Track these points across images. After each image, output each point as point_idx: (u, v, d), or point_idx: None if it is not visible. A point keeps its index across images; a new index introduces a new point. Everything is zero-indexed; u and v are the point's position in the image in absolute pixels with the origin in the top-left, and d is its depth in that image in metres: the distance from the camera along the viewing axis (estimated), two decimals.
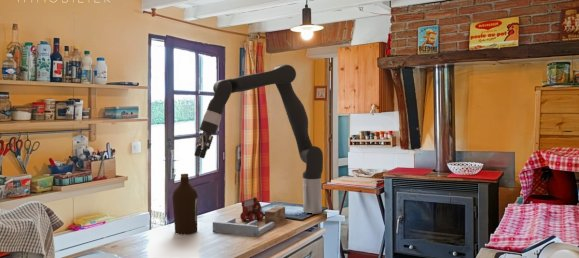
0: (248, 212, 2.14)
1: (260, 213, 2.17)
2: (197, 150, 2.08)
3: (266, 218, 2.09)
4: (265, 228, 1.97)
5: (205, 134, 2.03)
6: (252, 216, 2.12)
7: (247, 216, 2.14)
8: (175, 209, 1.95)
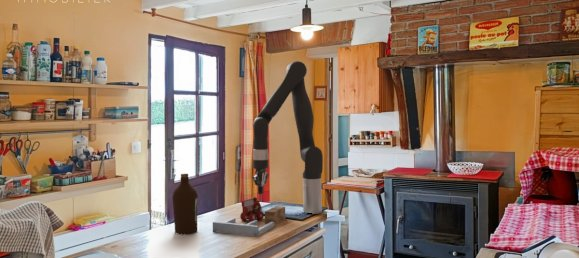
0: (248, 212, 2.14)
1: (260, 213, 2.17)
2: None
3: (266, 217, 2.09)
4: (265, 228, 1.97)
5: None
6: (252, 216, 2.12)
7: (247, 216, 2.14)
8: (175, 209, 1.95)
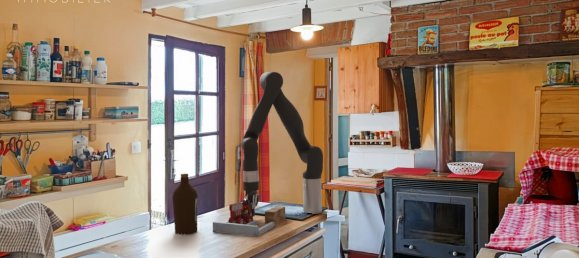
0: (236, 216, 2.05)
1: (249, 218, 2.08)
2: None
3: (266, 217, 2.09)
4: (265, 228, 1.97)
5: None
6: (240, 221, 2.04)
7: (235, 221, 2.05)
8: (175, 209, 1.95)
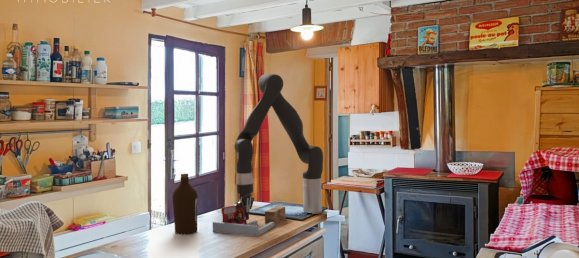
0: (229, 220, 2.00)
1: (242, 221, 2.02)
2: None
3: (266, 217, 2.09)
4: (265, 228, 1.97)
5: None
6: None
7: None
8: (175, 209, 1.95)
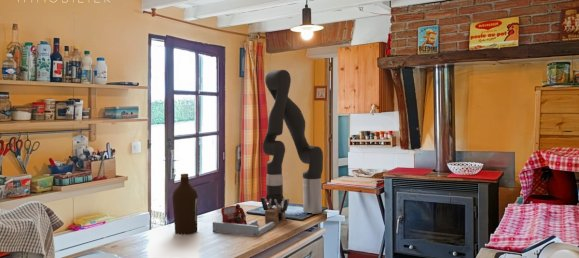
0: (229, 220, 2.00)
1: (242, 221, 2.02)
2: None
3: (266, 217, 2.09)
4: (265, 228, 1.97)
5: (277, 197, 2.11)
6: None
7: None
8: (175, 209, 1.95)
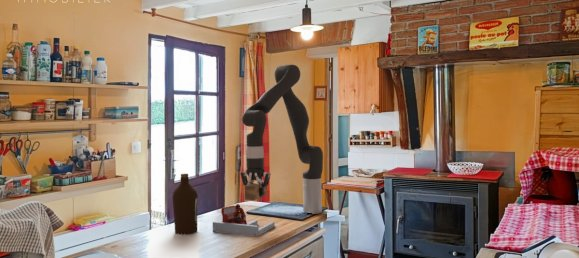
0: (229, 220, 2.00)
1: (242, 221, 2.02)
2: None
3: (245, 192, 1.95)
4: (265, 228, 1.97)
5: (258, 170, 1.97)
6: None
7: None
8: (175, 209, 1.95)
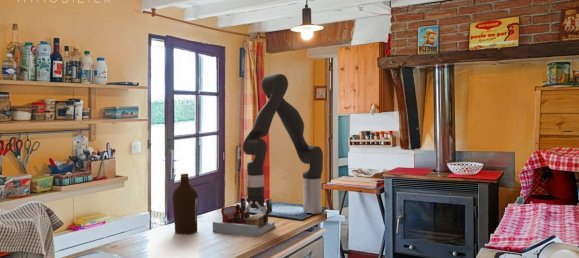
0: (229, 220, 2.00)
1: (242, 221, 2.02)
2: (247, 215, 2.01)
3: None
4: (265, 228, 1.97)
5: (258, 199, 1.98)
6: None
7: None
8: (175, 209, 1.95)
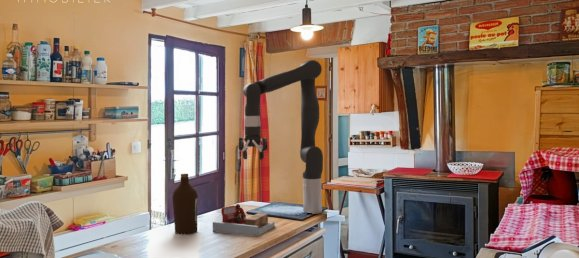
0: (229, 220, 2.00)
1: (242, 221, 2.02)
2: (245, 154, 2.21)
3: None
4: (265, 228, 1.97)
5: (255, 138, 2.18)
6: None
7: None
8: (175, 209, 1.95)
